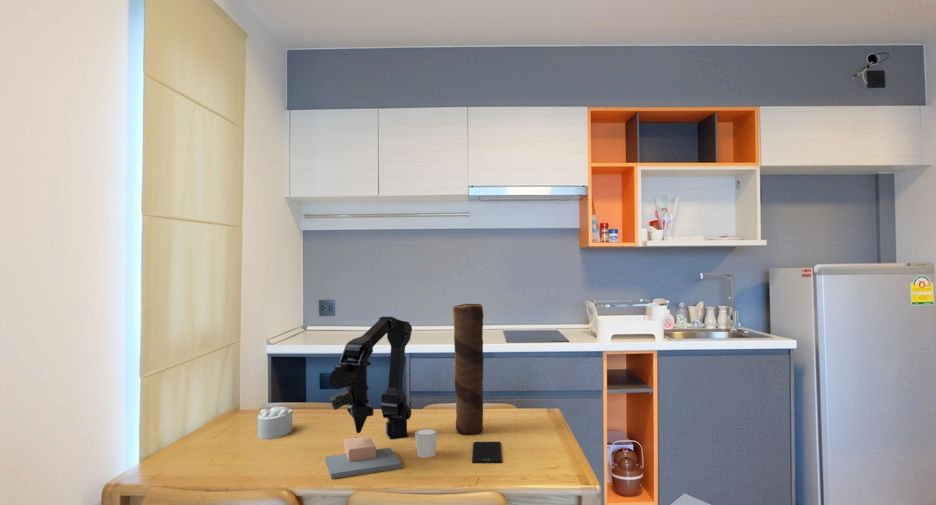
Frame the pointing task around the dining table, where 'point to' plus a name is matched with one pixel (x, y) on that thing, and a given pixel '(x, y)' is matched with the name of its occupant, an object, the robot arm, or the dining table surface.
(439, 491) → the dining table surface
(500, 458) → the cell phone
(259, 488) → the dining table surface
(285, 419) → the lumpy-topped squat cylinder
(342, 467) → the mat
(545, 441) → the dining table surface
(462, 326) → the wafer roll
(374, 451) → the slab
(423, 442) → the shot glass
